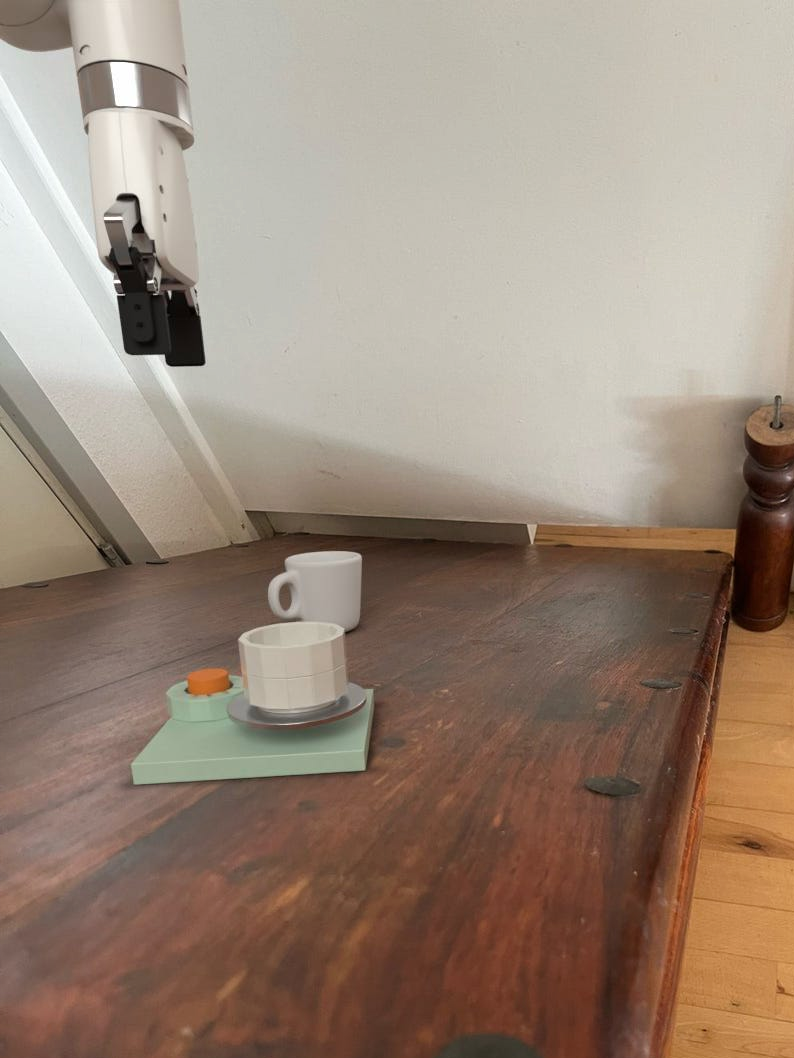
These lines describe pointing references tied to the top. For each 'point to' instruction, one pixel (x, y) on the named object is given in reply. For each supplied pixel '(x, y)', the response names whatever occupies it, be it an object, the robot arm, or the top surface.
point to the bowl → (294, 666)
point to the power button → (208, 681)
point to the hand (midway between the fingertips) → (168, 360)
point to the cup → (320, 588)
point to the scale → (246, 743)
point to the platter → (260, 719)
